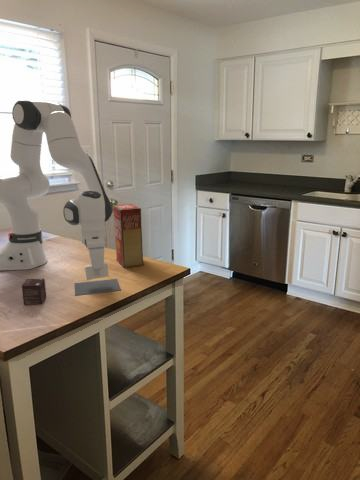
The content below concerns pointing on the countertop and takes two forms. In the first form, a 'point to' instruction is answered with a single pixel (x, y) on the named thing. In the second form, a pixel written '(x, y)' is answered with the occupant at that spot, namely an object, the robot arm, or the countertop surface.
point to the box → (34, 291)
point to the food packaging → (128, 235)
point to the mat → (96, 287)
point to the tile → (91, 274)
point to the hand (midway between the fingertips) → (96, 273)
